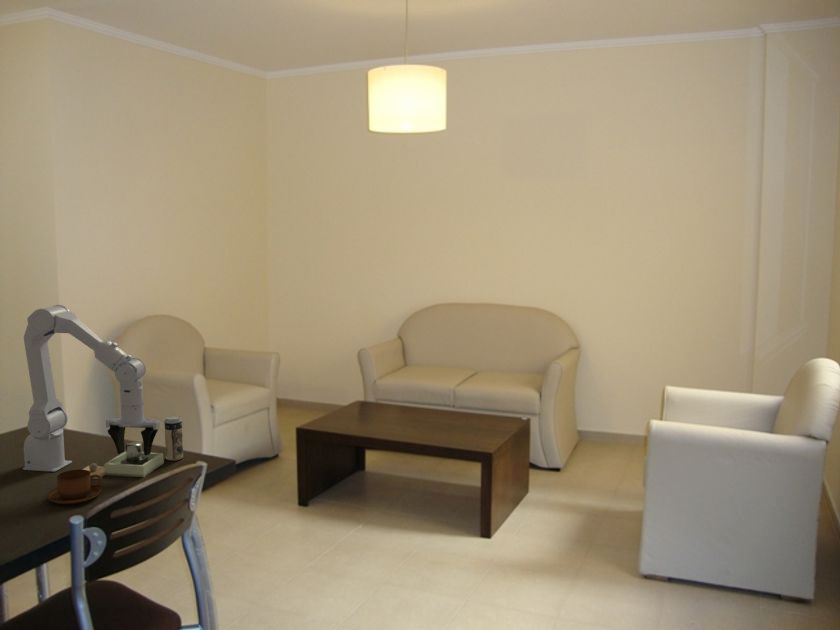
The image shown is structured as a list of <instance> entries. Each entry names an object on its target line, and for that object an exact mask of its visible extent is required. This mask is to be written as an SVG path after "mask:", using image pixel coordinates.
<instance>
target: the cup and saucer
mask: <svg viewBox="0 0 840 630" xmlns="http://www.w3.org/2000/svg"><path fill="white" fill-rule="evenodd" d="M94 477H97V478H99V479H98V482H96V483H94V482H91V480H92V479H93V478H94ZM56 482H57V487H55V488H53V489H51V490H50V491H48V493H47V495H46V497H47V499H48V500H50V502H52V503H55V504H59V505H72V504H73V505H74V504H79V503H80V504H81V503H83V502H89V501H90V500H92V499H94V498H95V497H97V496H99V494H100V493H101V492H102V486H101V485H102V484H101V483H102V482H103V477H101V476H99V475H91V476H90V471H88V470H82V469H70V470H66V471H63V472H61V473H59V474H57V476H56Z"/></svg>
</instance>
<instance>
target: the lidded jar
mask: <svg viewBox="0 0 840 630" xmlns="http://www.w3.org/2000/svg"><path fill="white" fill-rule="evenodd" d="M163 422H164V441H165V443H164V445H165V459H166V460H168V461H171V462H175V461H179V460H181V459H183V458H184V443H183V442H184V440H183V439H184V438H183V437H184V436H183V435H184V434H183V419H182V418H181V416H180V415H179V416H178V415H169V416H166V417H165V419H164V421H163Z"/></svg>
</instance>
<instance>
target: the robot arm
mask: <svg viewBox="0 0 840 630" xmlns="http://www.w3.org/2000/svg"><path fill="white" fill-rule="evenodd" d="M26 319H27V326H26V329H25V332H24V335H23V343H24V350H25V354H26V356H25V357H26V362H27V367H28V369H27V370H28V373H29V379H30V380H29V381H30V385H31V386H30V387H31V394H32V400H33V402H32V403H33V404H32V405H31V407H30V409H29V410H28V422H27V430H28V432H29V433H30V434H29V435H28V436H27V437H26V438H25V439H24V442H23V459H24V467H23V468H22V470H24V471H36V472H37V471H38V472H54V473H55V472H57V471H58V470H59V471H60V469H62V468H65V467H66V466H68V465H70V464H72V463H73V460H66V457H65V456H66V455H65V442H64V441H65V440H64V427H66V425H67V423H68V414H67V412H66V411H65V410H64V407H63V403H62V402H61V401H60V399H58V398H57V397H56V396H57V395H56V389H55V383H54V376H53V370H52V365H51V364H52V363H51V357H50V351H49V350H50V349H49V344H48V341H49V340H50V339H51V338H52V337H53V336H54V335H55V334H69V335H71V336H72V337H74V338H75V339H76V340H78V341H79V342H80V343H82V344H83V345H85V346H86V347H88V348H90V349H91V350H92V351H93V352H94V357H95V358H96V360H98V361H99V362H100V363H102V364H103V365H104V366H105V367H107V368H108V370H111V371H112V372H113V373H114V376H115V379H116V380H117V382H118V384H119V394H120V397H119V398H120V417H114V418H113V417H109V418H107V419H105V428H109V429H107V434H108V435H109V436H110V438H111V439H112V440H113V443H114V446H115V448H116V451H117V454H118V455H120V454H122V453H124V452H125V433H126V428H135V429H143V430H141V431H140V434H141V439H142V445H143V452H144V455H149V454H150V453H152V452H151V451H152V447H153V442H154V440H155V437H156V435H157V433H158V432H159V429H160V428H161V420H155V419H150V418H146V417H145V413H144V412H145V411H144V408H145V407H144V384H143V383H144V382H143V377H144V375H145V374H146V371H147V370H146V365H145V363H144V362H143V361H142V360H141V358H138V357H133V356H132V355H131V354H127V353H126V352H125V351H124V350H123V349H121V348H120V347H119V344H118V343H117V342H116V341H114V342H112V340H108V341H107V340H106V341H103V339H102V338H100V337H99V336H98V335H97V334H96V333H95V332H93V331H92V330H91V329H90V328H89V327H88V326H87V325H86V324H85V323H83V322H82V321H81V320H80V319H79V318H78V316H77V315H76V313H75V312H73V311H71V310H69V308H68V307H67V306H65V305H63V304H62V305H61V304H56V305H52V306H49V307H44V308H38V309H36V310H34V311H33V312H32V313H31V314H30V315H29V316H27V318H26Z"/></svg>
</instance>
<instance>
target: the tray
mask: <svg viewBox="0 0 840 630" xmlns="http://www.w3.org/2000/svg"><path fill="white" fill-rule="evenodd" d="M142 457H148V462H146V463H145V464H143V465H130V464H121V461H122V460H124V459H126V451H124V452H123V453H121V454H118V455H117V456H115V457H113V458H112V459H110V460H108V461H107V462H105V463H104V465H103V466H104V468H105V475H104V476H115V477H130V478H131V477H133V478H134V477H135V478H145V477H147V476H148V475H149V474H151V473H152V472H154V471H155V470H156V469H158V468H159V467H161V466H163V465H164V464H165V463H164V460H165V459H164V453H163V452H151V453H150V454H149V455H144V451H142Z"/></svg>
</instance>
